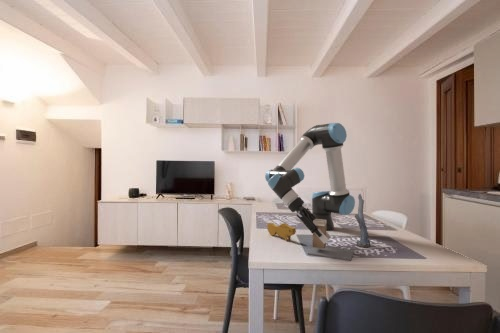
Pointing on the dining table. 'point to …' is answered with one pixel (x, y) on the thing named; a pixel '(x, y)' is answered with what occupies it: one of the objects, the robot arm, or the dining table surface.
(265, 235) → the dining table surface
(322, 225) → the walnut block
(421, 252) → the dining table surface
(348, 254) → the charcoal rubber mat
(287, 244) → the dining table surface
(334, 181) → the robot arm
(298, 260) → the dining table surface
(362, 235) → the antler
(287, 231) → the decorative fish
